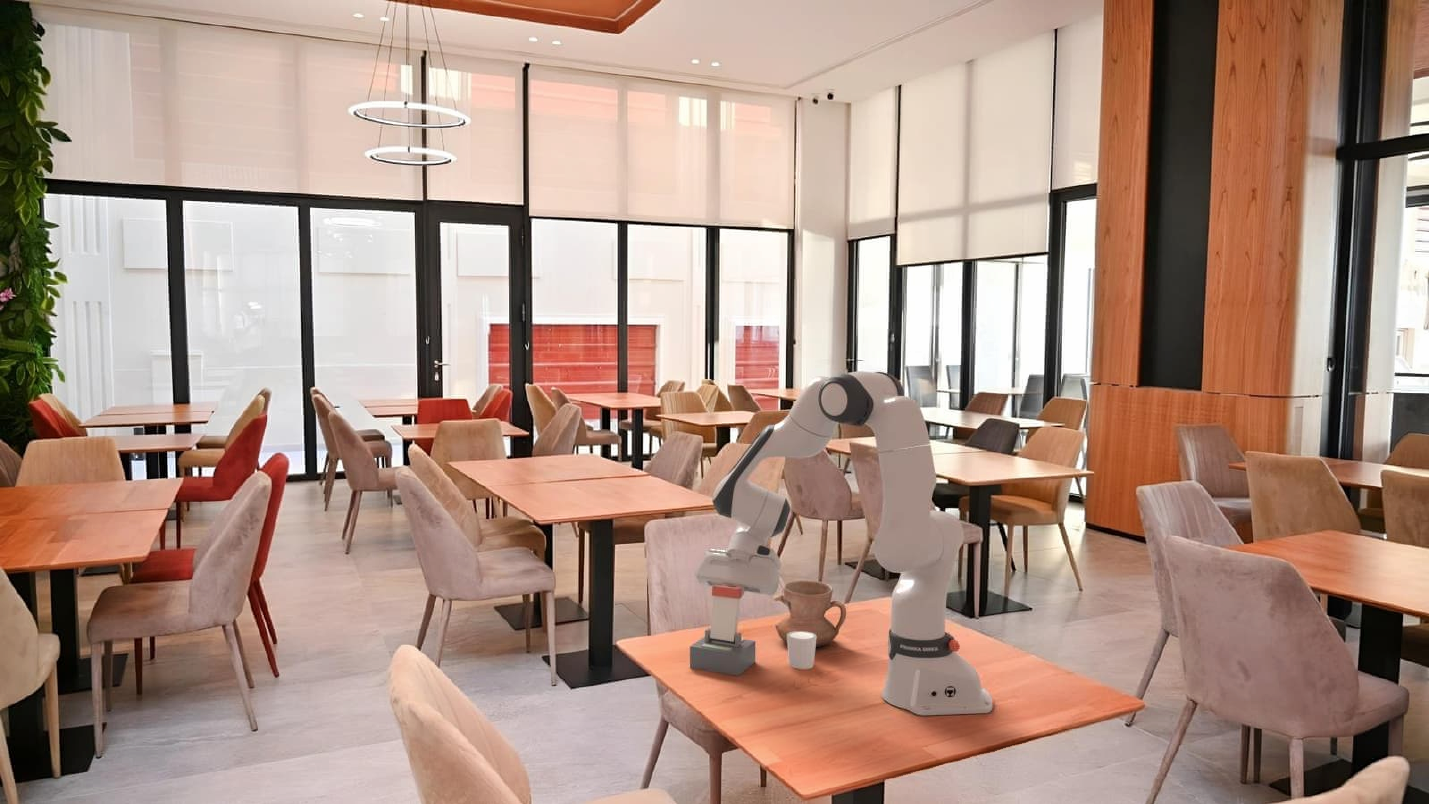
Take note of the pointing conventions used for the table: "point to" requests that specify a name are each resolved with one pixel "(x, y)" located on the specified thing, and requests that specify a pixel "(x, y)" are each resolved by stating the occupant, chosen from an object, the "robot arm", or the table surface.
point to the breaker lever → (725, 613)
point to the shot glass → (801, 649)
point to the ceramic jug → (809, 610)
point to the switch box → (722, 655)
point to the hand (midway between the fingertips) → (727, 604)
